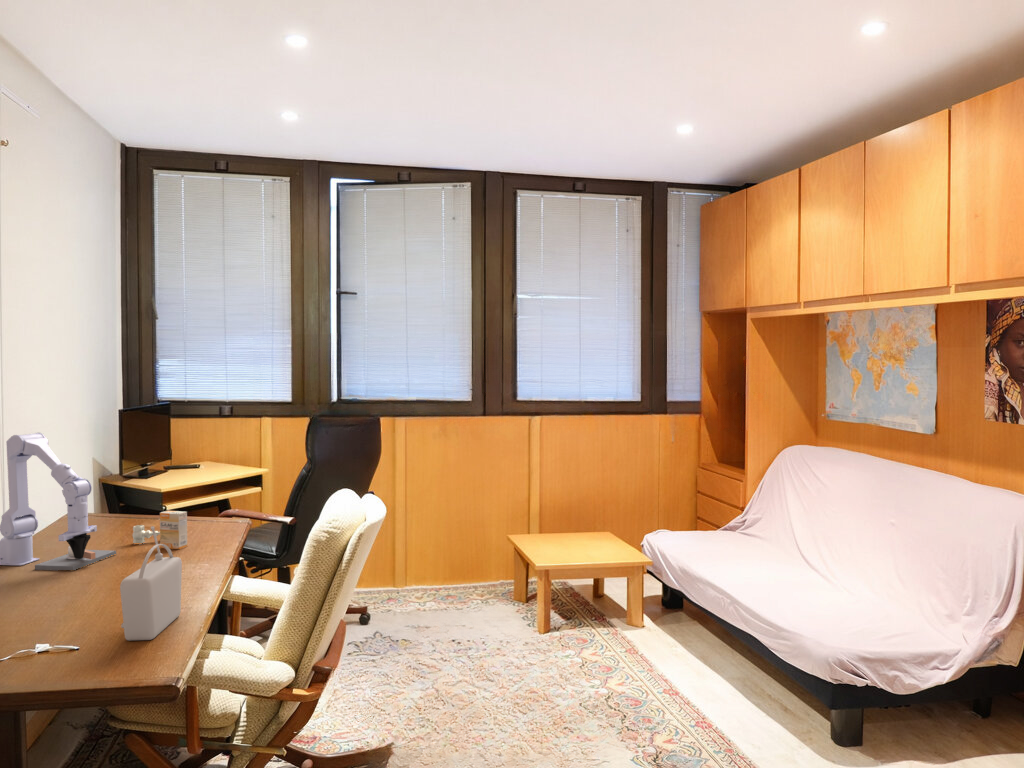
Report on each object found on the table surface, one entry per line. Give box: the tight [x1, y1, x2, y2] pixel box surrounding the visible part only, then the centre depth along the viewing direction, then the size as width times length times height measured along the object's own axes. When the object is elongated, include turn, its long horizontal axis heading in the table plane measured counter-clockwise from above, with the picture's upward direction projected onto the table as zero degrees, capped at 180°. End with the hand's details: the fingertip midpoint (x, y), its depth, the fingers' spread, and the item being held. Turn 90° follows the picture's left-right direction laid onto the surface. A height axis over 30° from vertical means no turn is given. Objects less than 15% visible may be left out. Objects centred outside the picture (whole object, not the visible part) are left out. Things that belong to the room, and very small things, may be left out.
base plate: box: [34, 549, 117, 571], centre depth 247 cm, size 14×20×2 cm
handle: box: [67, 545, 95, 559], centre depth 244 cm, size 13×5×3 cm, turn 57°
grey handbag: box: [119, 525, 183, 642], centre depth 183 cm, size 22×8×25 cm, turn 4°
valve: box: [132, 524, 160, 544], centre depth 273 cm, size 7×7×12 cm
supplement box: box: [159, 510, 188, 550], centre depth 265 cm, size 8×5×13 cm, turn 76°
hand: (78, 558), depth 239 cm, fingers closed
